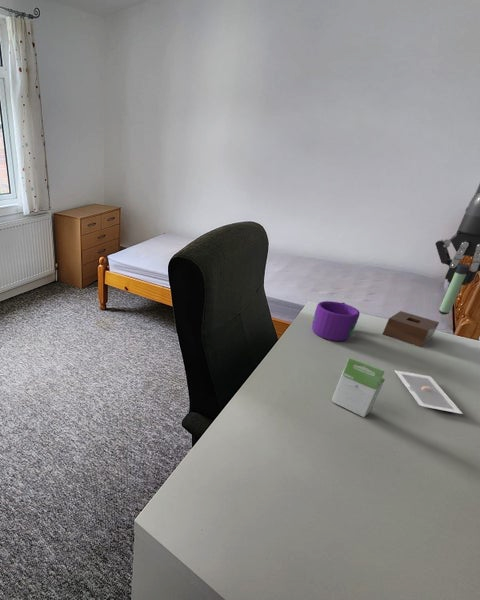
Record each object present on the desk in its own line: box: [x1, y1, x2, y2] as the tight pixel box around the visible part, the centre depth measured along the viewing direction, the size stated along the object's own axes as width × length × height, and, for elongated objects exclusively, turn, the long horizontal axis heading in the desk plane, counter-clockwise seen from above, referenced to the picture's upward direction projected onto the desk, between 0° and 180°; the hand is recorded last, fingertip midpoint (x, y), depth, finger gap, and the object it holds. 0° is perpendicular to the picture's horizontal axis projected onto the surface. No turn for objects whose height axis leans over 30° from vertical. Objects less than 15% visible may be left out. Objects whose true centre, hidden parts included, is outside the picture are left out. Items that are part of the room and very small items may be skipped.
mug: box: [311, 300, 361, 342], centre depth 114 cm, size 17×11×10 cm, turn 134°
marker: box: [438, 263, 471, 316], centre depth 86 cm, size 2×2×14 cm
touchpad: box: [394, 370, 464, 415], centre depth 86 cm, size 8×15×2 cm, turn 158°
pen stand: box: [382, 310, 440, 348], centre depth 111 cm, size 10×10×6 cm
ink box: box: [331, 357, 386, 418], centre depth 80 cm, size 7×4×13 cm, turn 34°
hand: (457, 282), depth 85 cm, fingers closed on marker, 2 cm apart
